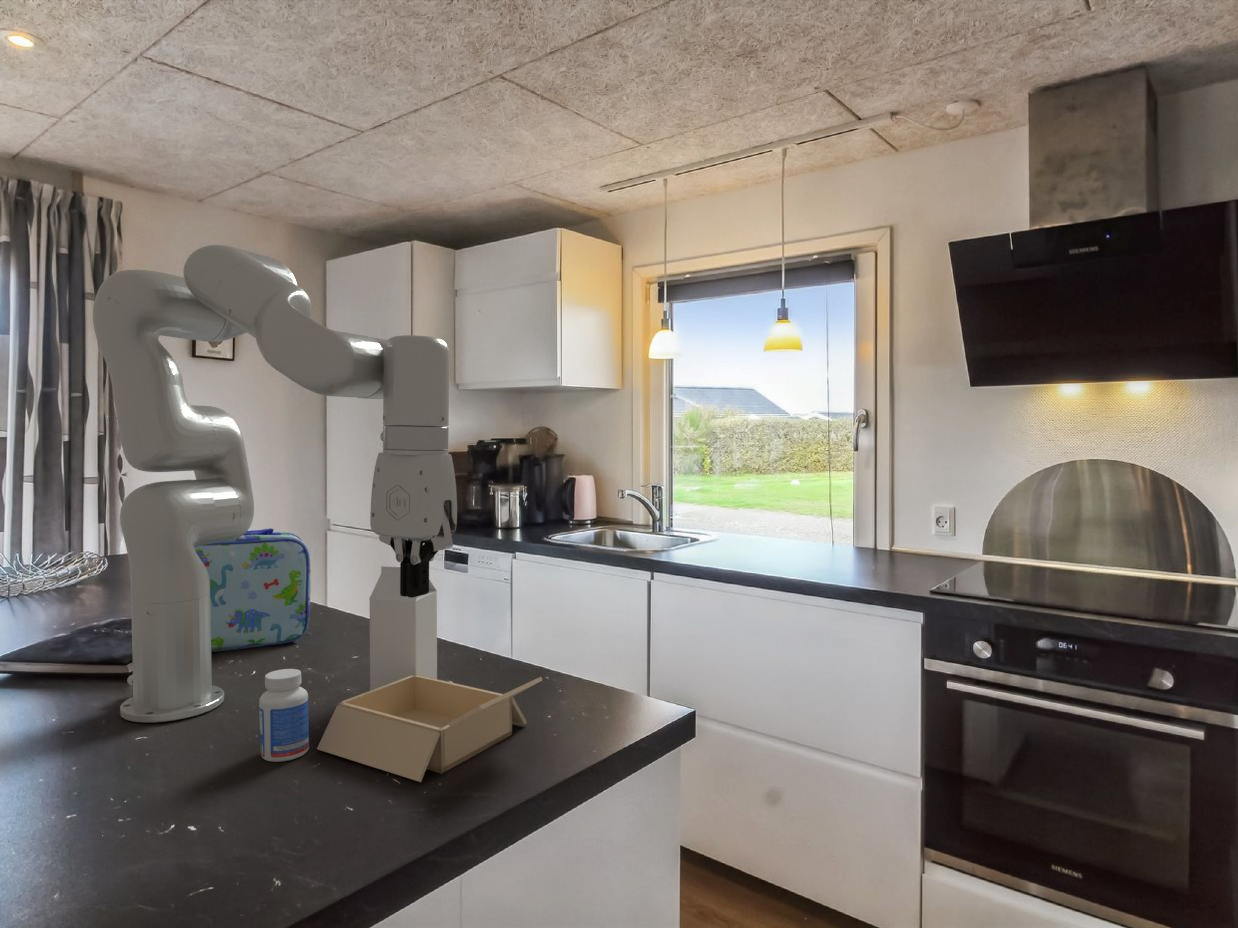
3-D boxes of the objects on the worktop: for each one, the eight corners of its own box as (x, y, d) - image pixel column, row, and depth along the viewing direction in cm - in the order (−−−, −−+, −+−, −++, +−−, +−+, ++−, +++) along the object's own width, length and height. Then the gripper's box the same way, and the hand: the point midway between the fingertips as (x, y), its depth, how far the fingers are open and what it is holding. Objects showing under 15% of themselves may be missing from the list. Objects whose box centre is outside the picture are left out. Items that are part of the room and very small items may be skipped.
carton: (296, 746, 95) (296, 706, 95) (414, 697, 112) (414, 663, 112) (419, 785, 85) (419, 741, 85) (528, 725, 102) (528, 688, 102)
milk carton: (415, 705, 109) (415, 572, 108) (369, 701, 111) (368, 570, 110) (437, 689, 116) (437, 564, 115) (393, 685, 117) (393, 562, 117)
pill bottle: (318, 747, 95) (318, 669, 94) (286, 765, 90) (285, 683, 89) (283, 741, 96) (282, 664, 96) (249, 758, 91) (248, 677, 91)
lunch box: (306, 629, 149) (305, 522, 148) (315, 643, 140) (314, 528, 139) (149, 648, 136) (146, 530, 135) (147, 664, 127) (145, 538, 126)
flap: (448, 722, 88) (479, 705, 86) (510, 692, 98) (540, 676, 96) (449, 726, 88) (481, 709, 85) (512, 696, 98) (542, 680, 95)
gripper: (346, 440, 92) (345, 592, 93) (442, 444, 84) (440, 609, 85) (393, 439, 98) (392, 582, 99) (486, 443, 91) (483, 597, 92)
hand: (414, 594), depth 92 cm, fingers closed
